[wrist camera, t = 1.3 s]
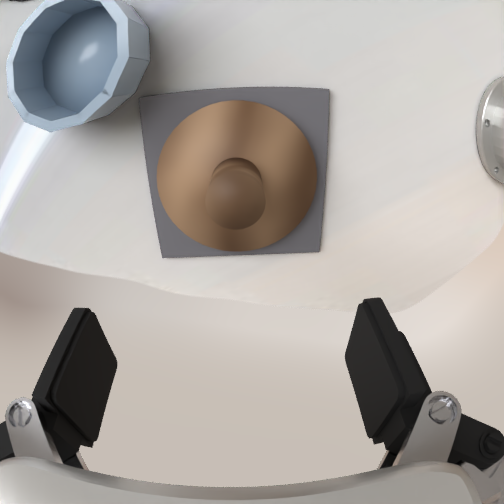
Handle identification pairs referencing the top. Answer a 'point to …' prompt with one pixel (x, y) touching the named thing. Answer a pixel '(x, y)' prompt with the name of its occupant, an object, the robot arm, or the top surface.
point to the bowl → (76, 61)
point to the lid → (236, 176)
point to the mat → (279, 98)
